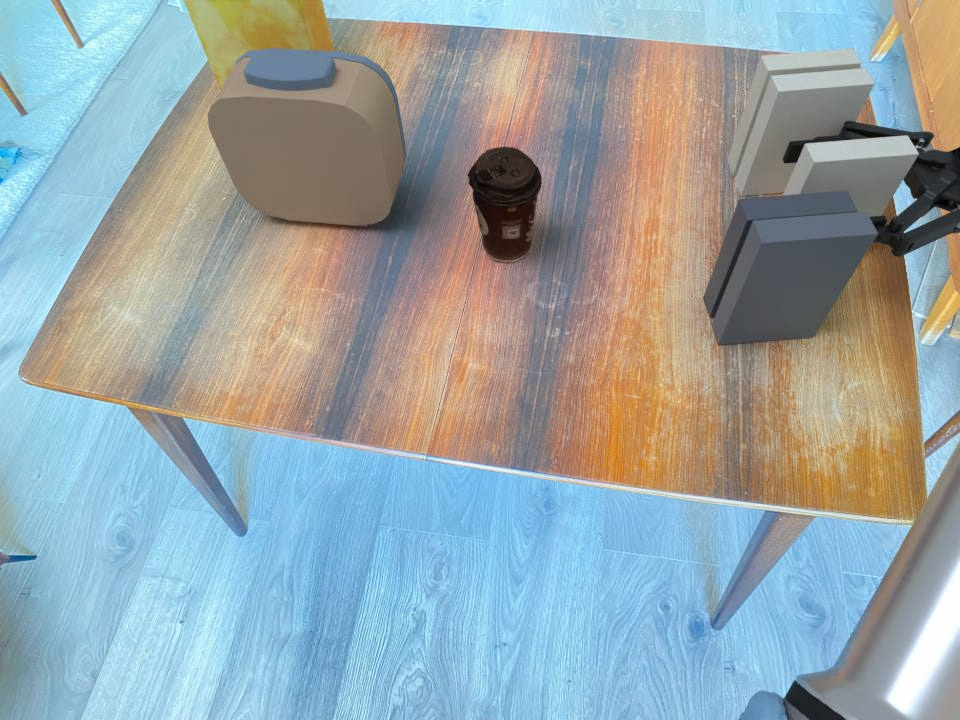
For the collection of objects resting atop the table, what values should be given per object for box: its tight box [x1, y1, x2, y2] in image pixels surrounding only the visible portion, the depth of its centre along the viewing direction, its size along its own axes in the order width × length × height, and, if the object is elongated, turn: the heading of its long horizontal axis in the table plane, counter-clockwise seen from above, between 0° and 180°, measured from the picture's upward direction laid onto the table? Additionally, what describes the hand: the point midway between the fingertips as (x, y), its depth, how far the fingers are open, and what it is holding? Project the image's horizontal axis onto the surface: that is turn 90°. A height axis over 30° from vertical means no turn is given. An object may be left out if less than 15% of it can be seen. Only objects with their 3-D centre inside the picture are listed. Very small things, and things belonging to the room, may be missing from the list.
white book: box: [782, 135, 919, 217], centre depth 79 cm, size 3×11×16 cm, turn 94°
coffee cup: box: [467, 146, 543, 264], centre depth 83 cm, size 9×8×13 cm
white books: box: [726, 47, 875, 197], centre depth 87 cm, size 7×11×16 cm, turn 94°
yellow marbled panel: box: [183, 0, 335, 90], centre depth 101 cm, size 18×12×24 cm
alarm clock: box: [207, 48, 407, 228], centre depth 85 cm, size 21×10×22 cm, turn 81°
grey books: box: [702, 190, 878, 346], centre depth 73 cm, size 7×11×17 cm, turn 94°
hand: (802, 190), depth 78 cm, fingers open, 12 cm apart
